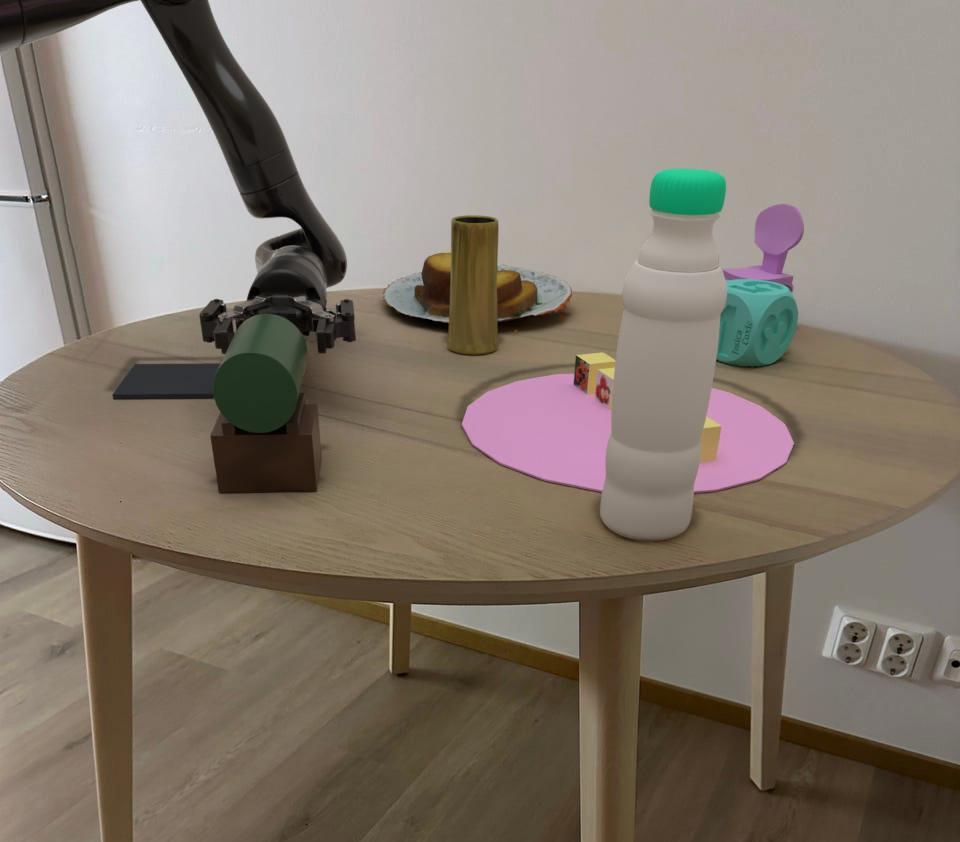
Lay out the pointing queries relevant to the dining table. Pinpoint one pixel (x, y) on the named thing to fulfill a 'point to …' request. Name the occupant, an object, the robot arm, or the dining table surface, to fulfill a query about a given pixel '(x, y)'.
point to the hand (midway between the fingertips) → (273, 342)
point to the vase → (473, 285)
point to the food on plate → (515, 292)
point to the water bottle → (665, 360)
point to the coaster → (168, 381)
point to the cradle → (269, 454)
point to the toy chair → (773, 245)
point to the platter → (587, 426)
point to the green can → (261, 374)
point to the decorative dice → (756, 322)
